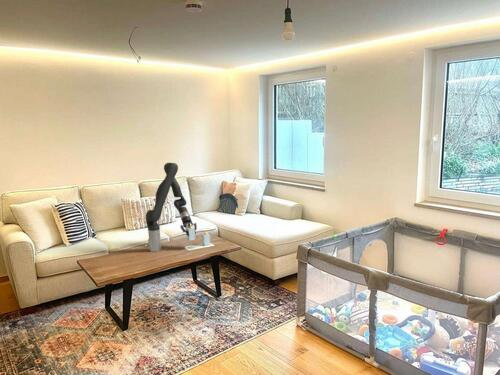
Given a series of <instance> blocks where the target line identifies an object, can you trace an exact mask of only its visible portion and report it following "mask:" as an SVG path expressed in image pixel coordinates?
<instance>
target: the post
mask: <svg viewBox="0 0 500 375" xmlns="http://www.w3.org/2000/svg"><path fill="white" fill-rule="evenodd" d="M204 233H205V232H204ZM204 233H201V241H202V242H201V244H202V245H204V246H208V245H210V243H211V235H210V234H211V233H209V232H207V233H208V234H205V235H204Z"/></svg>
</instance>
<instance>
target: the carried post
mask: <svg viewBox="0 0 500 375" xmlns="http://www.w3.org/2000/svg"><path fill="white" fill-rule="evenodd" d="M187 230H188V233H189V236H187V235H186V238H187V241H194V240H196V234H195V231H196V230H195V227H194V228H192V229H189V228H187Z"/></svg>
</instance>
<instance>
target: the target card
mask: <svg viewBox="0 0 500 375" xmlns="http://www.w3.org/2000/svg"><path fill="white" fill-rule="evenodd" d="M214 246H215V244H213V243H211V242H210V245H208V246H204V245H202V243H201V244H200V243H199V244H193V245H188V246H183V248H184V249H186V250H187V251H193V250H198V249H203V248H208V247H209V248H210V247H214Z"/></svg>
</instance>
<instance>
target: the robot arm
mask: <svg viewBox="0 0 500 375" xmlns="http://www.w3.org/2000/svg"><path fill="white" fill-rule="evenodd" d="M178 170H179V166H178V164H177V163H176V162H166V163H165V164H164V166H163V171H164V173H165V175H166V176H164V179H163V180H162V181H161V182H160V183H159V185H158V187H157V189H156V192H155V204H154V207H153V209H148V211H147V212H146V214H145V221H146V222H145V223H146V227H147V231H148V232H147V233H148V239H147V240H148V241H147V242H148V250H149V252H150V253H151V252H159V251H161V250H162V244H161V243H162V241H161V230H160V229H161V227H160V225H159V223H158V221H159V220H160V218H161V216H162V212H163V208H164V206H165V202H166V200H167V197H168V194H169V192H170V189H171V191H172V194H173V196H174V198H178V199H174V201H173V205H174V207H175V208H176V209H177V212H178V213H179V216H180V220H181V223H182V224H181V225H180V226H179V227H180V229H181V231H182V232H183V233H185V234H186V237H187V236H189V233H188V230H187V228H189V227H190V226H192V227H193V228H195V235H196V234H197V232H196V231H197V228H198V227H197V222H193V220H192V218H191V215H190V214H189V211H188V209H187V207H186V205H187V200H186V199H185V196H184V195H183V193H182V190H181V189H182V188H181V186H180V184H179V182H178V181H177V179H176V175H177V173H178Z"/></svg>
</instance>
